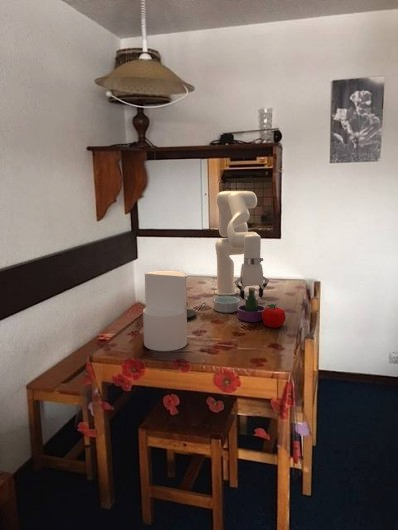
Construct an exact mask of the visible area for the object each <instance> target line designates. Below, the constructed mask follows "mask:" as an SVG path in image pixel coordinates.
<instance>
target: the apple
mask: <svg viewBox="0 0 398 530" xmlns="http://www.w3.org/2000/svg"><path fill="white" fill-rule="evenodd" d="M266 306H267V307H265V309H263V313H262V317H263V320H262V321H263V324H264V326H266V327H267V328H271V329H273V328H274V329H277V328H280V327H282V326H283V325H284V323H285V321H286V318H287V317H286V312H285V311H286V310H285V309H283V308H280V307H278V306H277V305H276V303H271V304H267V305H266Z"/></svg>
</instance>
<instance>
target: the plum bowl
mask: <svg viewBox="0 0 398 530" xmlns="http://www.w3.org/2000/svg"><path fill="white" fill-rule="evenodd" d="M265 308H266V307H265V306H263V305H261V304H258V312H247V311H245V304H240V306H239V307H238V310H237V319H238V320H240V321H243V322H246V323H257V322H258V323H259V322H261V321H263V317H262V313H263V309H265Z"/></svg>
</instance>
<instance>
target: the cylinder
mask: <svg viewBox="0 0 398 530" xmlns="http://www.w3.org/2000/svg"><path fill="white" fill-rule="evenodd" d="M144 294H145V298H144V299H145V307H144V308H143V310H142V320H143V321H142V322H143V345H144V347H145V348H147V349H149V350H151V351H156V352H170V351H176V350H181V349H183V348H184V347H186V346H187V345H188V318H187V309H188V307H187V306H188V305H187V303H188V302H187V274H186V272H184V271H178V270H154V271H149V272H148V271H147V272H144Z"/></svg>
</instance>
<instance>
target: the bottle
mask: <svg viewBox="0 0 398 530" xmlns="http://www.w3.org/2000/svg"><path fill="white" fill-rule="evenodd" d="M244 305H245V311H247V312H258V305H259V297H257V295H256V288H255V287H254V286H249V287H248V294H247V295H246V297H245V299H244Z"/></svg>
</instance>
